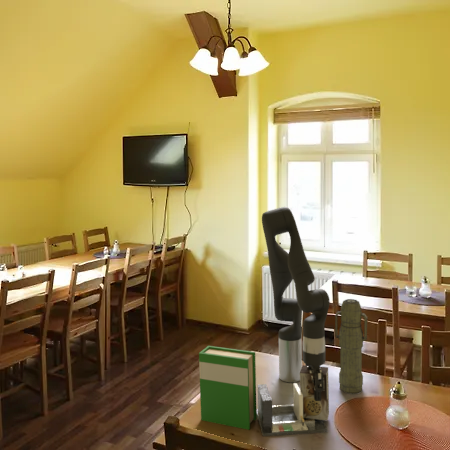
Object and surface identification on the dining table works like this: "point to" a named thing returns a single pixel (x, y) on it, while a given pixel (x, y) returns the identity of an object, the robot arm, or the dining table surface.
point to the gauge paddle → (298, 402)
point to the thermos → (351, 346)
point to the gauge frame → (282, 417)
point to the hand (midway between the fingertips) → (314, 394)
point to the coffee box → (311, 406)
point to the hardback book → (228, 386)
